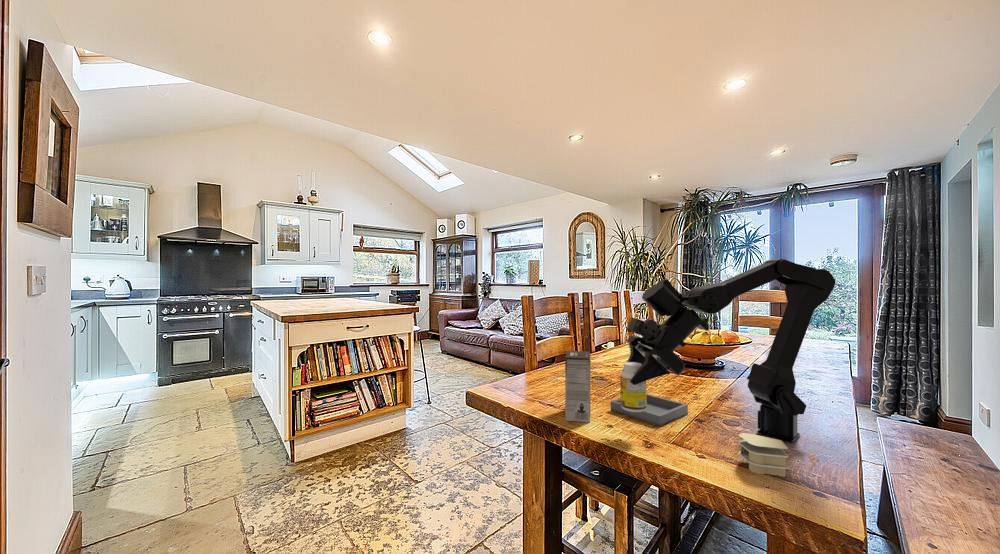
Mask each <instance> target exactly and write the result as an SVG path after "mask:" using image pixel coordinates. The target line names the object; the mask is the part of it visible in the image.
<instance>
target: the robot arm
mask: <svg viewBox="0 0 1000 554" xmlns="http://www.w3.org/2000/svg"><path fill="white" fill-rule="evenodd" d="M773 281H776V282H777V283H778V284H780V285H783V286H785V288H784V293H785V298H786V300H787V304H786V307H785V310H784V313H783V315H782V318H781V319H780V320H781V321H780V323H779V325H778V328H777V331H776V333H775V336H774V339H773V341H772V345H771V346H770V349H769V351H768V355H767V358H766V359H765V360H764V361H763V362H762V363H760V364H758V363H753V364H752V365H751V368H750V371H749V372H750V373H749V374H748V375H747V377H746V379H747V388H748V389H749V392H750V393H751V395H753V398H754V401H755V403H759V404H760V407H759V408H760V409H759V410H757V429H758V430H757V434H759V435H760V436H764V437H768V438H772V439H777V440H781V441H782V442H786V443H791V444H792V443H794V442H795V441H796V440H798V438H800V436H801V433H799V432H798V416H799V415H805V412H806V409H807V404H806V403H805V402H804V401H803V400H802V399H801V398H800V397H799V396H798V395H797V394H796V393H795V389H796V384H797V383H796V377H795V375H794V371H793V370H794V369H793V368H794V365H795V363H796V360H797V357H798V354H799V352H800V349H801V347H802V344H803V341H804V338H805V336H806V333H807V330H808V328H809V325H810V323H811V320H812V317H813V315H814V312H815V310H816V309H817V308H818V307H820V306H821V305H822V304H823V303H824V302H826V301H827V300H828V298H829V297H830V296H831V293H832V292H833V290H834V288H835V286H836V278H834V276H833V274H832V273H831V272H830V271H829V270H827V269H825V268H815V267H812V266H807V265H803V264H799V263H795V262H793V261H790V260H788V259H785V258H777V259H776V258H775V259H768V260H766V261H764V262H763V263H761V264H759V265H757V266H755V267H752V268H751V269H747V270H745V271H743V272H741V273H738V274H736V275H734V276H732V277H729V278H728V279H725V280H723V281H721V282H716V283H710V284H705V285H701V286H698V287H693V288H691V289H689V290H688V291H687V292H686V293H680V292H679V291H678V290H677V289H676V288H675V287H674V286H673V285H672V283H671V281H670V280H668V279H667V278H665V279H664V278H662V279H660V281H659V282H657V283H655V284H654V285H652V286H651V287H648V288H647V289H646V290H645V291H644V292H643V294H642V297H641V299H642V300H643V301H644V302H645V303H646V304H647V305H648V306H649V307H650V308H651V309H652V310H653V311H654V312H655V313H656V314H657V315H658V316H660V317H665V316H666V317H668V318H667V319H666V320H665V321H664V322H663V323H662V324H661V323H658V321H656V320H653V319H651V318H646V319H645V320H643V319H639V318H636V317H631V319H630V321H629V324H628V326H627V328H626V330H627V331H629V332H630V333H631V332H632V333H634V334H636V335H630V336H629V337H628V338H627V339H626V340H625V341H626V343H628V347H629V350H630V351H629V352H630V355H629V357H628V359H627V361H626V362H637V363H641V364H642V366H641V367H640V368H639V370H638V371H637V372H636V373H635V375H634V376H633V378H632V379H631V381H630V382H631V383H632V384H633V385H636V384H638V383H641V382H644V381H646V382H647V381H649V380H652V379H656V378H660V377H662V376H665V375H670V374H671V373H672V374H674V375H676V376H678V377H679V376H681V374H682V373H683V372H684V371H685V367H686V365H685V364H686V363H685V362H684V360H682V359H681V358H680V357H679V356H678V355H677V354H676V353H675V351H677V349H678V348H679V347H680V348H684V347H685V346H686V342H685V341H686V339H687V338H688V337H690V336H691V334H692V333H693V332H694V331H696V329H698V330H701V331H702V330H703V331H706V332H708V331H710V326H709V322H708V321H709V318H707V317H701V315H699V314H698V313H702V314H710V315H714V314H717V313H719V312H721V311H722V310H723V309H724V308H726V307H728V306H729V305H731V303H732V302H733V300H734V299H736V298H737V297H739V296H742V295H744V294H747V293H748V292H751V291H753V290H755V289H757V288H759V287H762V286H764V285H767V284H768V283H771V282H773ZM686 306H687V307H686ZM641 336H642V337H641ZM623 370H624V368H623V369H622V371H623ZM669 370H670V371H669Z"/></svg>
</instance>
